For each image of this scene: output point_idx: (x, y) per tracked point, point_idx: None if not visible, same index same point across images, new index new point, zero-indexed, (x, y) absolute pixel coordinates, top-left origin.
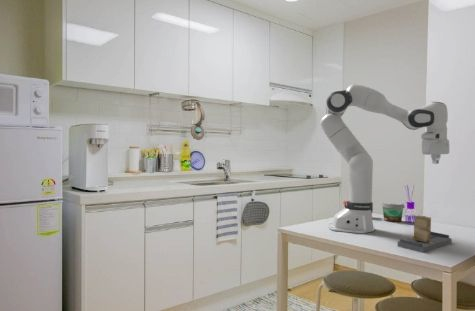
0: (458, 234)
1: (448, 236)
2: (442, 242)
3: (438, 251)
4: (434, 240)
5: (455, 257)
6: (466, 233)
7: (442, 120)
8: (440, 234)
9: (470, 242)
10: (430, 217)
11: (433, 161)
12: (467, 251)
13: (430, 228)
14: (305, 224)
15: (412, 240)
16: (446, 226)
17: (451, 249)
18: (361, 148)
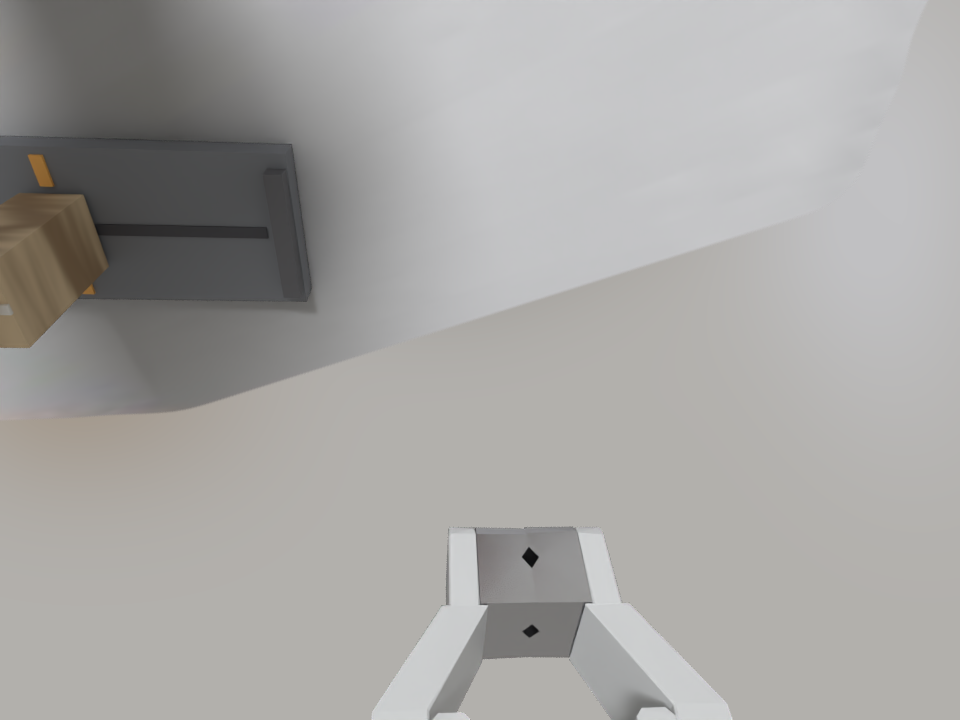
0: (555, 235)
1: (293, 294)
2: (192, 296)
3: (83, 316)
4: (159, 267)
5: (83, 391)
6: (622, 253)
7: None
8: (277, 256)
9: (414, 338)
10: (27, 344)
11: (448, 585)
12: (231, 385)
13: (67, 305)
14: None
15: (9, 188)
16: (766, 79)
17: (186, 336)
18: None
